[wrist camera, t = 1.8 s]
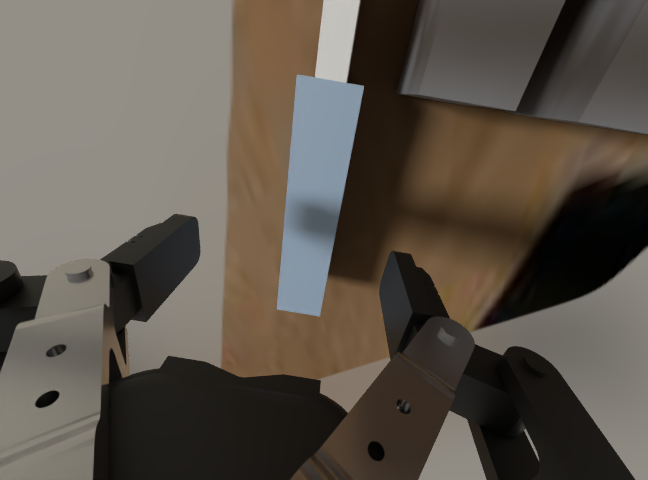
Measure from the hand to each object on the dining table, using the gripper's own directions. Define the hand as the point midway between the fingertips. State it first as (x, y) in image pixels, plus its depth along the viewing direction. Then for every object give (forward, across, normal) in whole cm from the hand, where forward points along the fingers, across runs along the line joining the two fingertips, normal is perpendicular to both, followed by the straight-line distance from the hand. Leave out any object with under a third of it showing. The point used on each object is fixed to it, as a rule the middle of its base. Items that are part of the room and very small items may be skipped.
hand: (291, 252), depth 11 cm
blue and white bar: (+9, 0, -2) cm, 10 cm away
